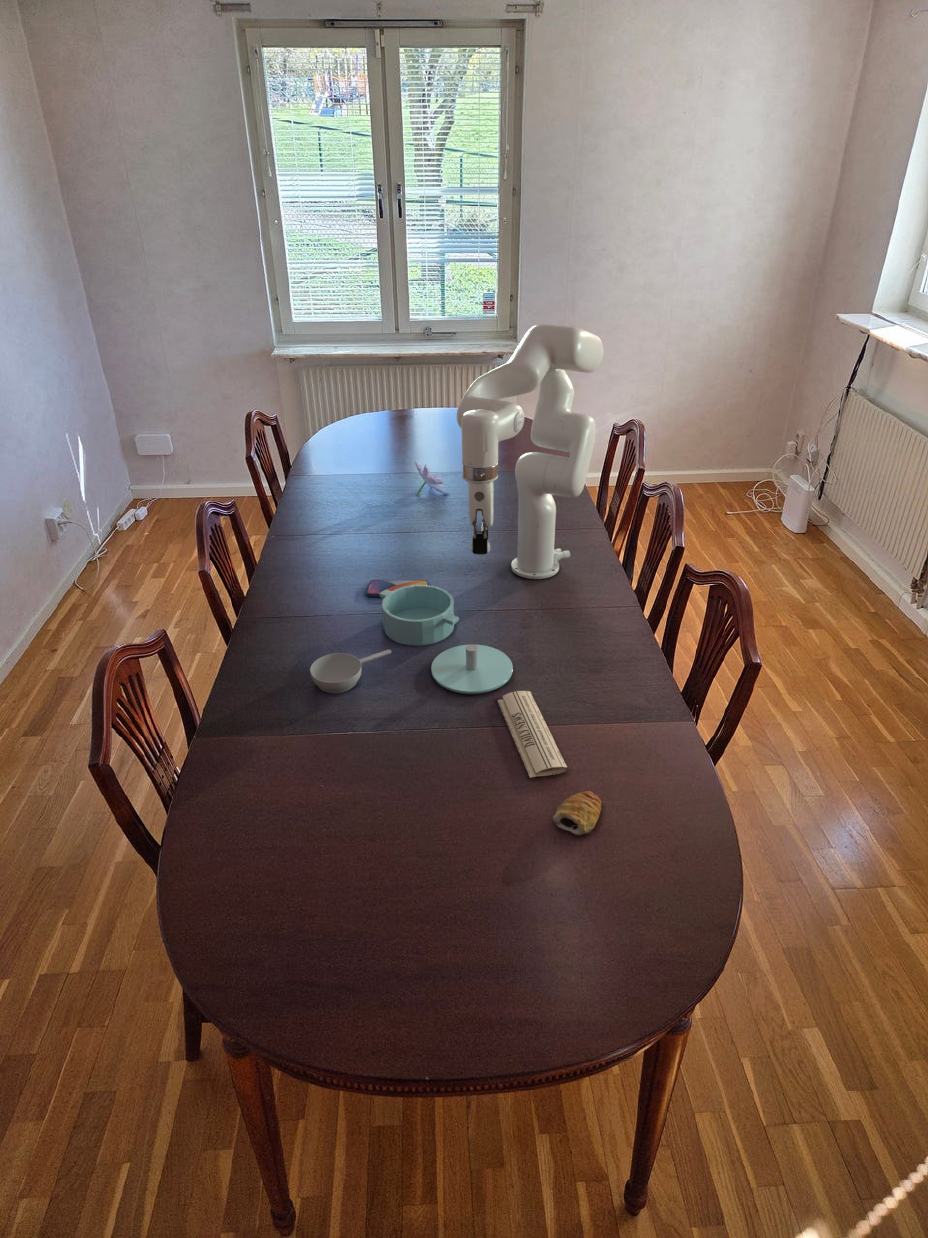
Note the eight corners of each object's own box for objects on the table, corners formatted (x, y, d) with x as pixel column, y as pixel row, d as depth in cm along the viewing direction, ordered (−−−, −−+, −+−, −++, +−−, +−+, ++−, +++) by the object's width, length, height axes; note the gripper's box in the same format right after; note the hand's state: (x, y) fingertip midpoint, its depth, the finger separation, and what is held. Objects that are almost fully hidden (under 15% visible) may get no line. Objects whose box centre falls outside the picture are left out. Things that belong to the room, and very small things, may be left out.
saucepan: (305, 674, 176) (303, 660, 174) (382, 652, 183) (381, 638, 181) (321, 701, 168) (319, 686, 166) (401, 677, 175) (400, 662, 173)
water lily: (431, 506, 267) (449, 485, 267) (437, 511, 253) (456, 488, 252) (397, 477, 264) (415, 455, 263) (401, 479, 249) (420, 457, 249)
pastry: (576, 792, 145) (577, 776, 143) (610, 808, 142) (612, 792, 140) (549, 825, 138) (551, 809, 136) (585, 842, 135) (587, 826, 133)
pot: (406, 597, 204) (404, 575, 200) (477, 625, 193) (477, 601, 189) (360, 626, 193) (358, 603, 189) (433, 657, 181) (432, 633, 178)
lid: (463, 640, 187) (463, 617, 184) (528, 666, 178) (529, 642, 175) (414, 677, 175) (413, 653, 172) (481, 706, 166) (481, 682, 163)
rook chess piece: (477, 544, 184) (477, 512, 180) (494, 549, 182) (494, 516, 178) (466, 552, 181) (466, 519, 177) (483, 557, 179) (483, 524, 174)
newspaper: (567, 772, 149) (567, 764, 148) (530, 778, 148) (530, 771, 147) (530, 696, 169) (530, 689, 168) (497, 701, 168) (497, 694, 167)
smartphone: (371, 582, 211) (371, 579, 210) (429, 583, 209) (428, 579, 209) (365, 597, 205) (365, 593, 204) (425, 598, 203) (425, 594, 203)
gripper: (497, 486, 164) (496, 566, 174) (498, 455, 178) (498, 531, 188) (460, 485, 164) (461, 566, 174) (464, 455, 179) (465, 531, 188)
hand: (480, 547), depth 181 cm, fingers closed on rook chess piece, 4 cm apart
